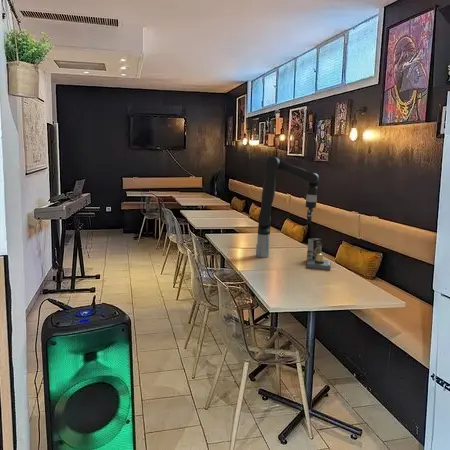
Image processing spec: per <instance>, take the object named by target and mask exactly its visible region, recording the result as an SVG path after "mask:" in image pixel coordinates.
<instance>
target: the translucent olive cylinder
mask: <svg viewBox="0 0 450 450" xmlns="http://www.w3.org/2000/svg"><path fill="white" fill-rule="evenodd" d="M323 258H324V254H323V253H322V252H321V253H317V256H316V263H321V264H322V261H323V260H324V259H323Z"/></svg>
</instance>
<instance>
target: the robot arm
mask: <svg viewBox="0 0 450 450" xmlns="http://www.w3.org/2000/svg"><path fill="white" fill-rule="evenodd" d="M277 170H279V171H282V172H285V173H287V174H289V175H291V176H293V177H295V178H298V179H301V180H304V181H305V182H308V187H307V190H306V198H305V208H308V209H307V210H306V225H307V224H308V225H310V224H311V223H312V220H313V219H312V217H313V215H314V214H313V213H314V209H315V208H316V207H317V202H318V200H317V199H318V196H317V195H318V186H319V181H320V176H319V174H317V173H316V172H310V171H307V169H304V168H301V167H299V166H295V165H293V164H290V163H288V162H285V161H283V160H281V159H280V158H278V157H277V156H269V157H267V159H266V161H265V176H264V181H263V186H262V191H261V204H260V205H261V207H260V211H259V214H258V218H257V222H258V226H257V242H256V249H255V257H257V258H269V256H270V240H271V239H270V238H271V237H270V236H271V226H272V224H271V223H272V216H271V212H272V205H273V202H274V197H275V193H276V174H277V173H276V172H277Z"/></svg>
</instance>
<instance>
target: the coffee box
mask: <svg viewBox="0 0 450 450" xmlns="http://www.w3.org/2000/svg"><path fill="white" fill-rule="evenodd" d="M322 248H323V239H322V238H317V237H313V238H308V240H307V252H306V260H307V261H308V259H316V256H317V253H321V254H322Z"/></svg>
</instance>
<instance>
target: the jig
mask: <svg viewBox="0 0 450 450" xmlns="http://www.w3.org/2000/svg"><path fill="white" fill-rule="evenodd" d="M331 266H332V260H329V259H328V260H324V259H323V261H322V264H321V263H316V259H308V260H307V263H306V269H313V270H323V271H331V268H332V267H331Z"/></svg>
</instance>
